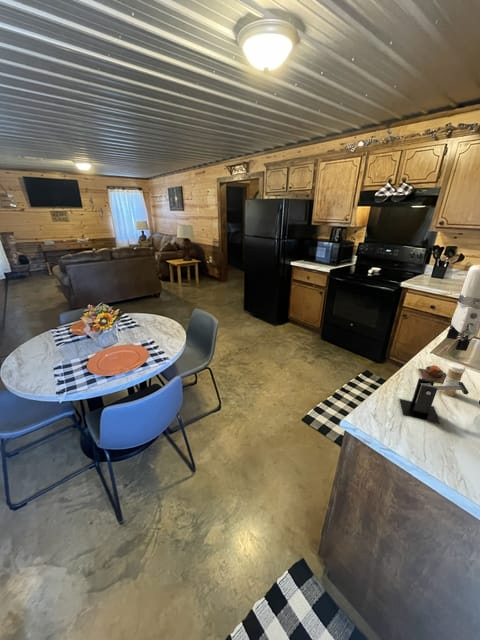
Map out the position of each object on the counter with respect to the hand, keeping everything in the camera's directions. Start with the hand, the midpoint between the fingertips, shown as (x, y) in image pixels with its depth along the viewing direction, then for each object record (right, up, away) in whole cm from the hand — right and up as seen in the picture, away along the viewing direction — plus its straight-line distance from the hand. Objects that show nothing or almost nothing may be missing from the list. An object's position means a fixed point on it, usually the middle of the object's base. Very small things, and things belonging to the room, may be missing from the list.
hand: (455, 343), depth 99 cm
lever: (-13, -15, -10) cm, 22 cm away
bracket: (-17, -25, -4) cm, 30 cm away
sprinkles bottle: (+1, -21, +5) cm, 21 cm away
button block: (+3, -17, +15) cm, 23 cm away
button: (+3, -13, +15) cm, 20 cm away
